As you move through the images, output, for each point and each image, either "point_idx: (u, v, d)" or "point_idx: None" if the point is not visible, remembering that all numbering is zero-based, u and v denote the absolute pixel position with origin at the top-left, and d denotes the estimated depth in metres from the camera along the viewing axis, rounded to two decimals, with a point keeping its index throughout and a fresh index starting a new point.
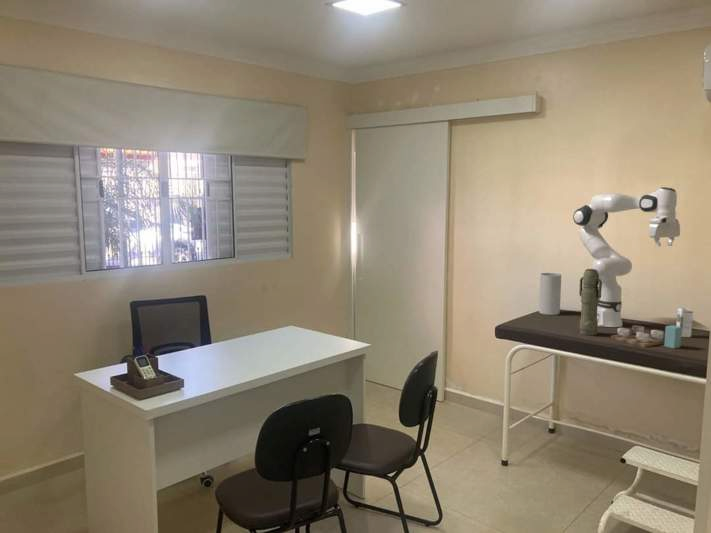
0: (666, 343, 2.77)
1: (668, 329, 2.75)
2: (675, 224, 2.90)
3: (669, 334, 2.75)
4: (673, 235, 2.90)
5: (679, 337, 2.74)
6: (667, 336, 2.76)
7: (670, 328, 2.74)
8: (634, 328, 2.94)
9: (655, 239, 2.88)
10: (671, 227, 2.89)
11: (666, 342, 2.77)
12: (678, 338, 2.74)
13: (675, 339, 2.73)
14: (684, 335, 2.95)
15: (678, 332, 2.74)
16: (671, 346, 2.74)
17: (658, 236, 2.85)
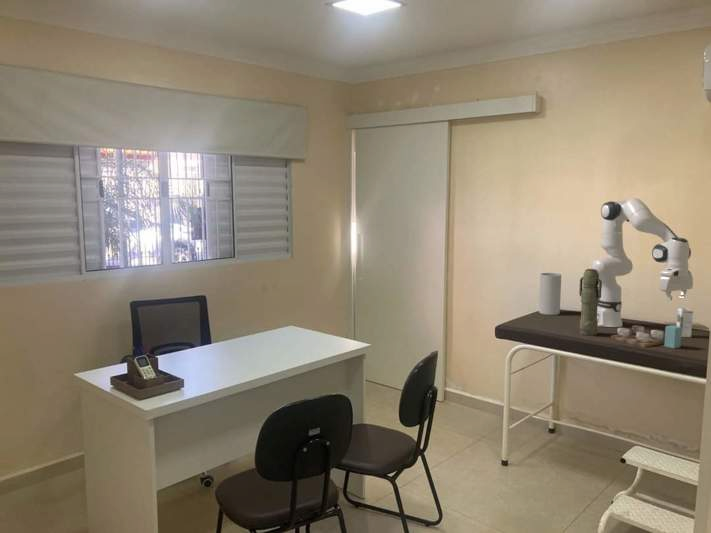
0: (666, 343, 2.77)
1: (668, 329, 2.75)
2: (687, 276, 2.73)
3: (669, 334, 2.75)
4: (685, 288, 2.73)
5: (679, 337, 2.74)
6: (667, 336, 2.76)
7: (670, 328, 2.74)
8: (634, 328, 2.94)
9: (666, 293, 2.71)
10: (683, 279, 2.72)
11: (666, 342, 2.77)
12: (678, 338, 2.74)
13: (675, 339, 2.73)
14: (684, 335, 2.95)
15: (678, 332, 2.74)
16: (671, 346, 2.74)
17: (670, 290, 2.68)
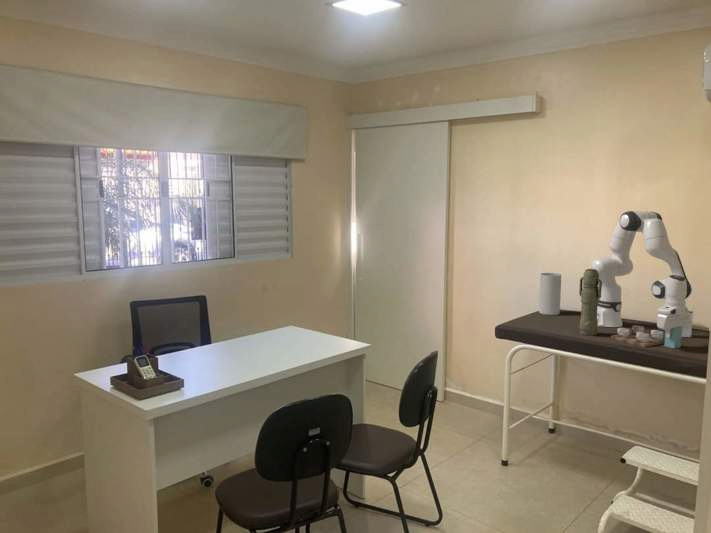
0: (666, 343, 2.77)
1: None
2: (685, 313, 2.76)
3: None
4: (683, 325, 2.76)
5: (679, 337, 2.74)
6: None
7: None
8: (634, 328, 2.94)
9: (666, 330, 2.74)
10: (681, 317, 2.75)
11: (666, 342, 2.77)
12: (678, 338, 2.74)
13: (675, 339, 2.73)
14: (684, 335, 2.95)
15: (678, 332, 2.74)
16: (671, 346, 2.74)
17: (667, 328, 2.71)
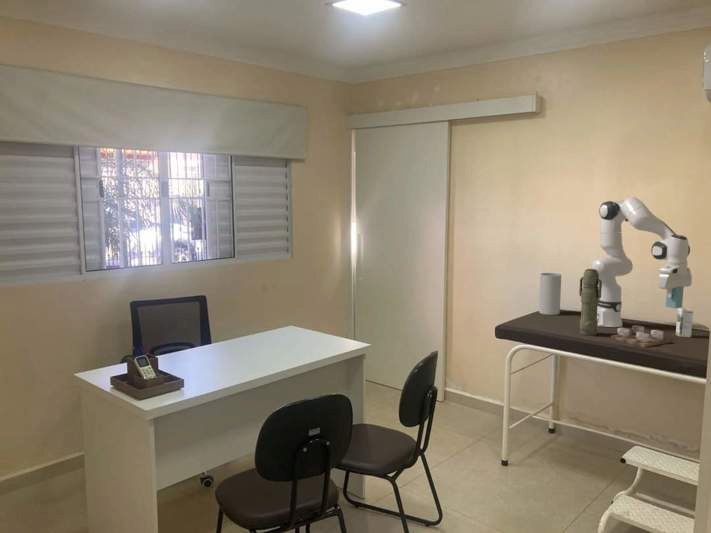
0: (667, 303, 2.75)
1: None
2: (686, 274, 2.74)
3: None
4: (684, 285, 2.74)
5: (681, 297, 2.72)
6: None
7: (672, 288, 2.72)
8: (634, 328, 2.94)
9: (667, 290, 2.72)
10: (682, 277, 2.73)
11: (667, 302, 2.75)
12: (679, 298, 2.72)
13: (676, 299, 2.71)
14: (684, 335, 2.95)
15: (680, 292, 2.72)
16: (672, 306, 2.73)
17: (669, 287, 2.69)
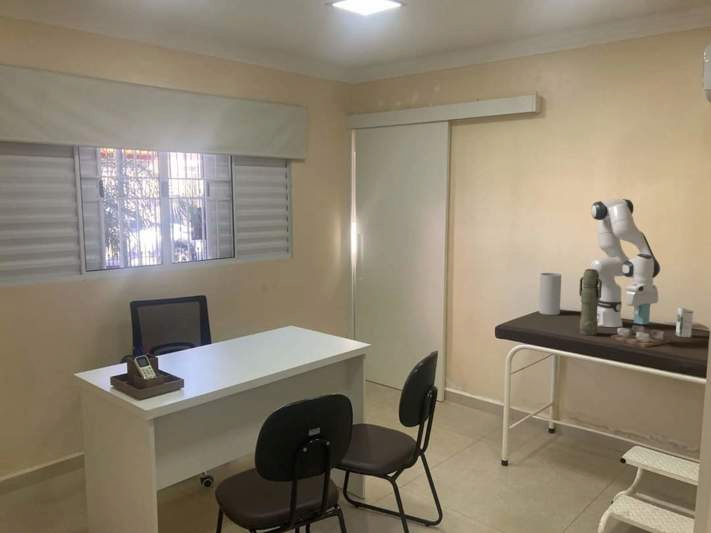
0: (635, 319, 2.87)
1: None
2: (653, 291, 2.86)
3: None
4: (651, 302, 2.86)
5: (647, 313, 2.85)
6: None
7: (639, 305, 2.85)
8: (634, 328, 2.94)
9: (634, 306, 2.84)
10: (649, 294, 2.85)
11: (635, 319, 2.87)
12: (646, 314, 2.84)
13: (643, 315, 2.83)
14: (684, 335, 2.95)
15: (646, 308, 2.84)
16: (640, 322, 2.85)
17: (635, 304, 2.81)
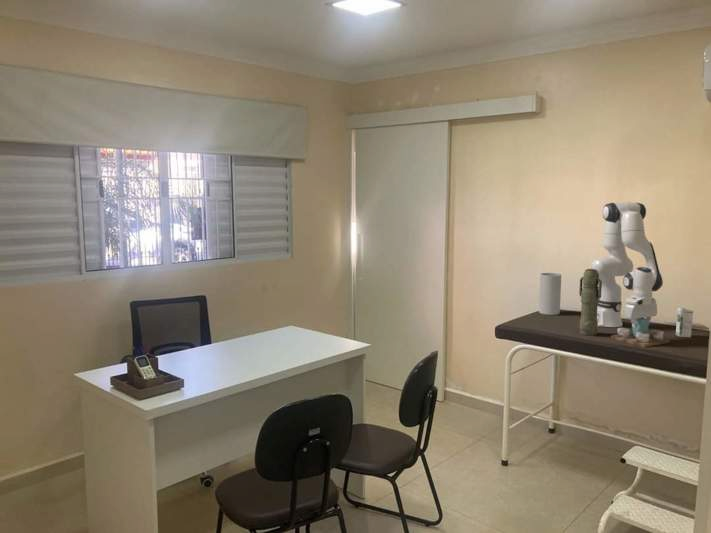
0: (634, 334, 2.88)
1: (636, 321, 2.87)
2: (652, 304, 2.87)
3: (637, 326, 2.86)
4: (650, 315, 2.87)
5: (646, 328, 2.86)
6: (635, 327, 2.87)
7: (637, 320, 2.86)
8: None
9: (631, 320, 2.84)
10: (648, 307, 2.86)
11: (634, 333, 2.88)
12: (645, 329, 2.85)
13: (642, 330, 2.85)
14: (684, 335, 2.95)
15: (645, 324, 2.85)
16: None
17: (634, 317, 2.82)
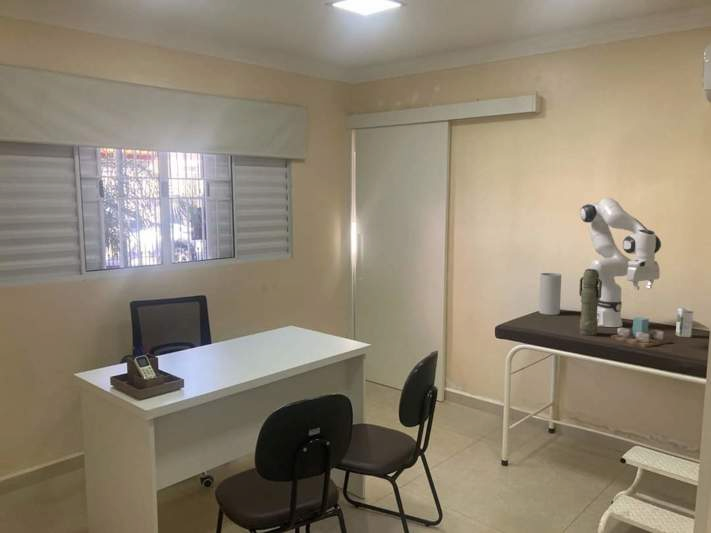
0: (634, 334, 2.88)
1: (636, 321, 2.87)
2: (654, 267, 2.84)
3: (637, 326, 2.86)
4: (652, 278, 2.85)
5: (646, 328, 2.86)
6: (635, 327, 2.87)
7: (637, 320, 2.86)
8: None
9: (634, 282, 2.82)
10: (650, 270, 2.84)
11: (634, 333, 2.88)
12: (645, 329, 2.85)
13: (642, 330, 2.85)
14: (684, 335, 2.95)
15: (645, 324, 2.85)
16: None
17: (637, 280, 2.80)
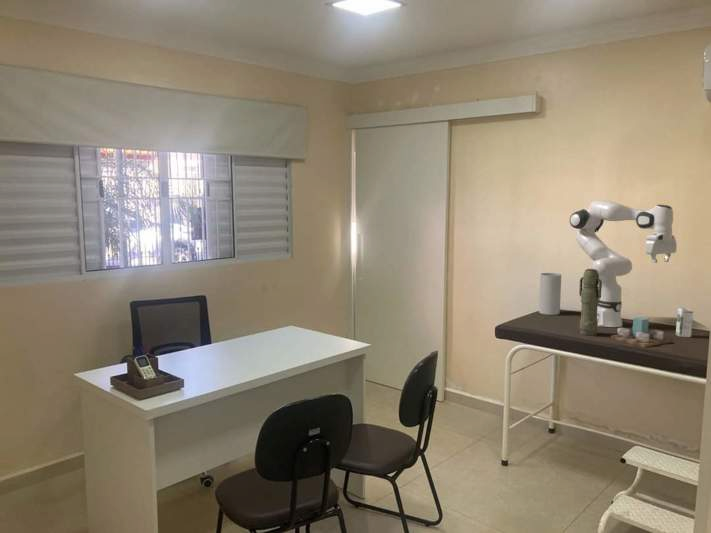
0: (634, 334, 2.88)
1: (636, 321, 2.87)
2: (671, 241, 2.94)
3: (637, 326, 2.86)
4: (669, 251, 2.95)
5: (646, 328, 2.86)
6: (635, 327, 2.87)
7: (637, 320, 2.86)
8: None
9: (652, 256, 2.92)
10: (667, 244, 2.94)
11: (634, 333, 2.88)
12: (645, 329, 2.85)
13: (642, 330, 2.85)
14: (684, 335, 2.95)
15: (645, 324, 2.85)
16: None
17: (655, 253, 2.89)
